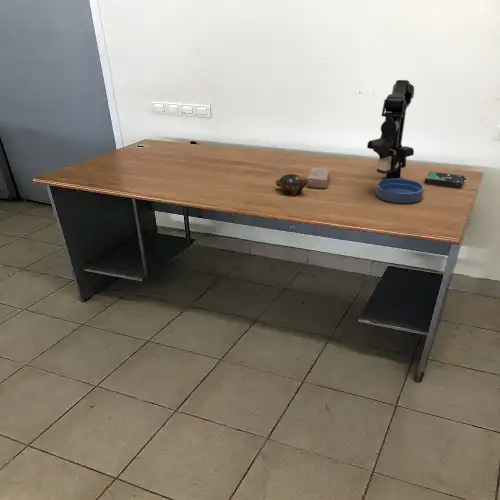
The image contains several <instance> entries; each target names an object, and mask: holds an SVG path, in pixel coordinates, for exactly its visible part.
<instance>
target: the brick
mask: <svg viewBox="0 0 500 500" xmlns="http://www.w3.org/2000/svg"><path fill="white" fill-rule="evenodd" d="M306 179H307V180H308V183H307V187H309V188H318V189H327V187H328V184H329V179H330V168H329V167H312V168H311V169H310V171H309V175H307V178H306Z"/></svg>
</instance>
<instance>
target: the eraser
mask: <svg viewBox="0 0 500 500" xmlns="http://www.w3.org/2000/svg"><path fill="white" fill-rule="evenodd" d="M391 160H392V158H391V156H389V157H386V158H382V159H380V158H379V159H377V163H376V173H379V174H382V175H386V174H387V173H390V172H393V171H397V170H398V163H399V162H398V163H397V165H396V167H395V168H394V170H393V171H391Z"/></svg>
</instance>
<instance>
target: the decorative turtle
mask: <svg viewBox="0 0 500 500" xmlns="http://www.w3.org/2000/svg"><path fill="white" fill-rule="evenodd" d="M307 179H308V178H306V177H305V176H300V175H298V174H294V173H288V174H285V175H283V176H281V177H280V178H279V179H277V180H275V185H276V186H277V187H279V188H281V189H282V193H283V194H288V193H290V194H291V196H293V197H295V196H296V195H297V194H298V193H302V191H303V189H305V188H306V187H307V186H308V184H307V183H308V180H307Z"/></svg>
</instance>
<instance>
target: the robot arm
mask: <svg viewBox="0 0 500 500" xmlns="http://www.w3.org/2000/svg"><path fill="white" fill-rule="evenodd" d="M414 95H415V86H414V84H411V83H410V80H407V79H398V80H396V81H395V84H393V86H392V91H391V93H390V94H388V95H387V96H386V98H384V99H383V100H384V102H383V105H382V111H381V117H384V118H385V119H384V121H383V122H382V124H381V126H380V132H381V134H380V137H379V138H374V139H371V140H368V141H367V144H366V145H367V146H366V148H367V149H369V150H372V151H373V152H375V153H376V154H377V155H378V158H379V159H382V158H386V157H389V156H391V158H392V160H391V171H393V170H394V168H395V167H396V165H397V163H398V162H399V163H398V170H397V171H393V172H390V173H387V174H385V176H384V175H383V176H382V179H383V180H385V179H392V178H399V179H402V177H401V176H402V175H401V173H402V169H404V168H406V166H407V158H408V157H410V156H414V154H415V149H414V148H413V147H411V146H406V145H404V146H403V144H402V143H403V136H404V135H403V134H404V128H405V123H406V122H405V121H406V114H407V109H408V107H409V106H410V105H411V103H412V99H414Z"/></svg>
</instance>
